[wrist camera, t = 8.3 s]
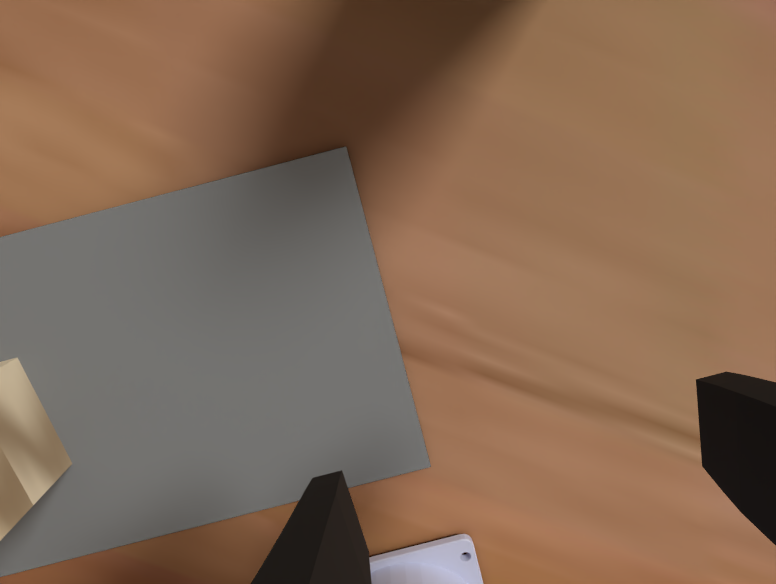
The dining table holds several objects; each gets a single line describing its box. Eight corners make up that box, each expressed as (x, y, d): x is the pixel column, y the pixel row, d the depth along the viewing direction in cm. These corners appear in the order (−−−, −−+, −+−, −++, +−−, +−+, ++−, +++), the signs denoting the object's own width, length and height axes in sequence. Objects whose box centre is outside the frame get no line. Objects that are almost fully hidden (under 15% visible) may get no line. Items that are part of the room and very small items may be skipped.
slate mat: (429, 462, 21) (430, 466, 21) (-62, 588, 22) (-68, 594, 21) (346, 146, 17) (346, 146, 17) (-253, 303, 18) (-263, 306, 17)
